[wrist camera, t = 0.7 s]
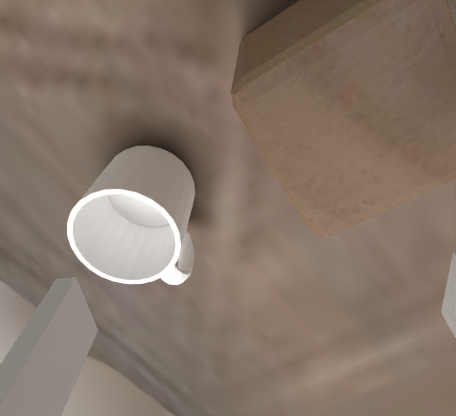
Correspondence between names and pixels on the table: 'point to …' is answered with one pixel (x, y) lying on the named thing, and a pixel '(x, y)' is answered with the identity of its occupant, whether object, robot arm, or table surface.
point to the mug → (136, 219)
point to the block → (352, 104)
